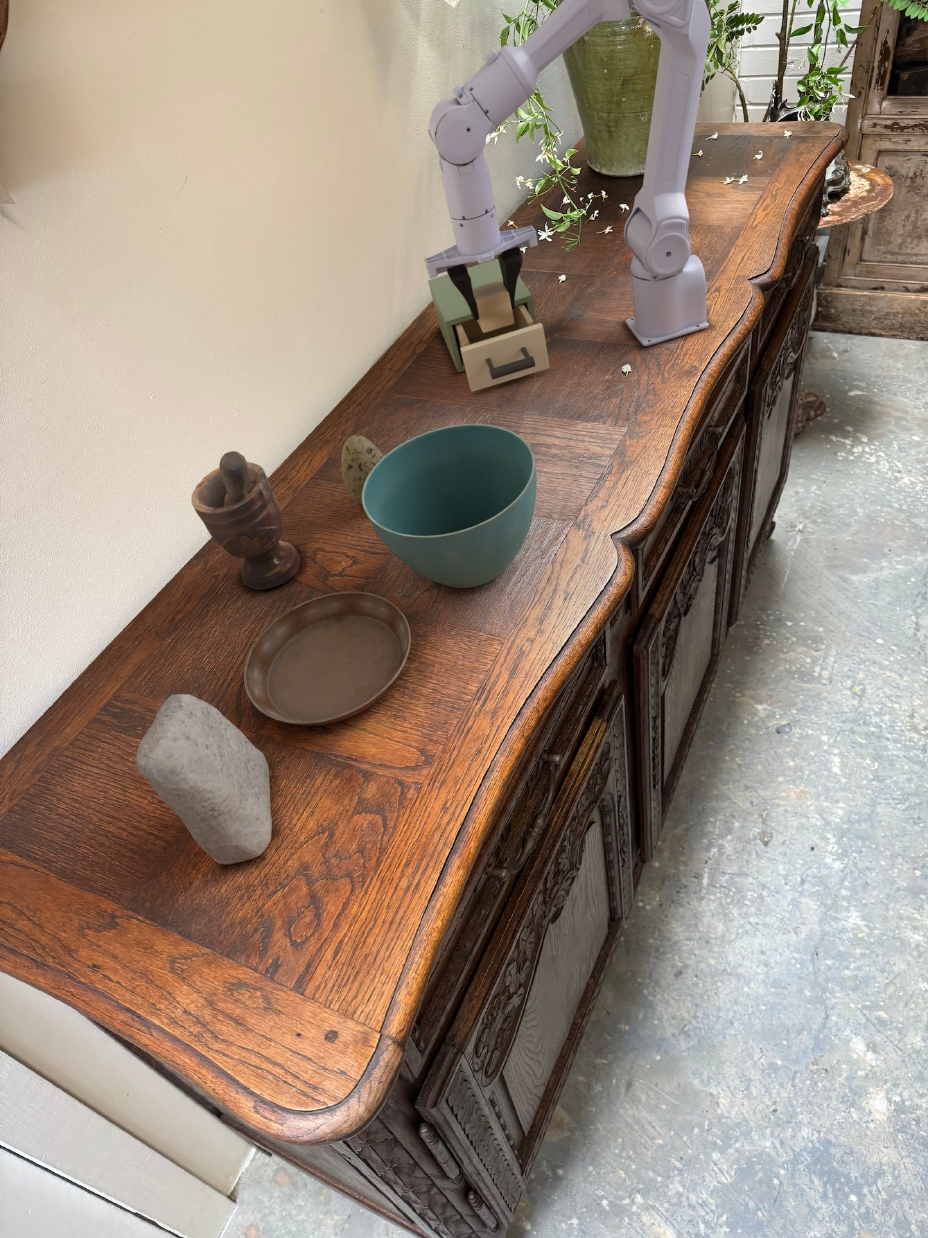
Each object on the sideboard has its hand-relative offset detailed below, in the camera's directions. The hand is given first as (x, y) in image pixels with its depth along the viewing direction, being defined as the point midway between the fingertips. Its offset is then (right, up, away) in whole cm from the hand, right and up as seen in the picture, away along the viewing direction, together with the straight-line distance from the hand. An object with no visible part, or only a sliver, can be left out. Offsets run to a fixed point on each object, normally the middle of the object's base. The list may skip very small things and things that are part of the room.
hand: (492, 311), depth 113 cm
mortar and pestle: (-26, -36, -13) cm, 46 cm away
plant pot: (-3, -35, -19) cm, 40 cm away
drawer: (+2, -5, +6) cm, 8 cm away
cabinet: (0, +1, +14) cm, 14 cm away
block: (0, -1, +1) cm, 1 cm away
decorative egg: (-15, -27, -8) cm, 32 cm away
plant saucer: (-17, -47, -26) cm, 56 cm away
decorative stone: (-24, -60, -36) cm, 74 cm away
